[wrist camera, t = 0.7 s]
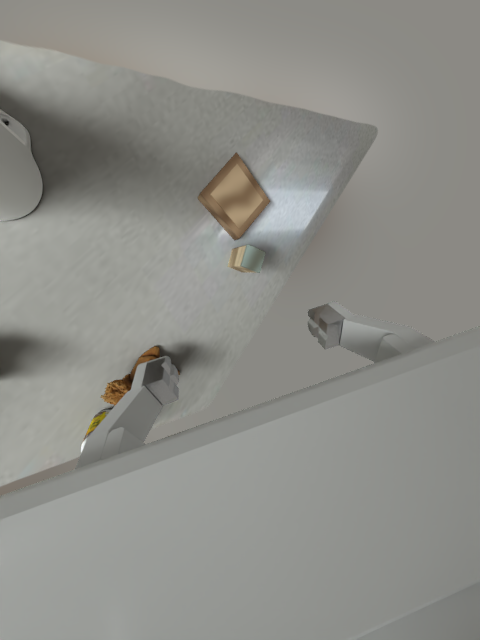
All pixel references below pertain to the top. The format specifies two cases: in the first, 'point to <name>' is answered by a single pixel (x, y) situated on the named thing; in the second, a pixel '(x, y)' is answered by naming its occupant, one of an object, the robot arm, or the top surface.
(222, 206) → the base slab
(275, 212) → the top surface
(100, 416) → the supplement bottle
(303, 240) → the top surface
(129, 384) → the stuffed squirrel
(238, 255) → the tan tall block
